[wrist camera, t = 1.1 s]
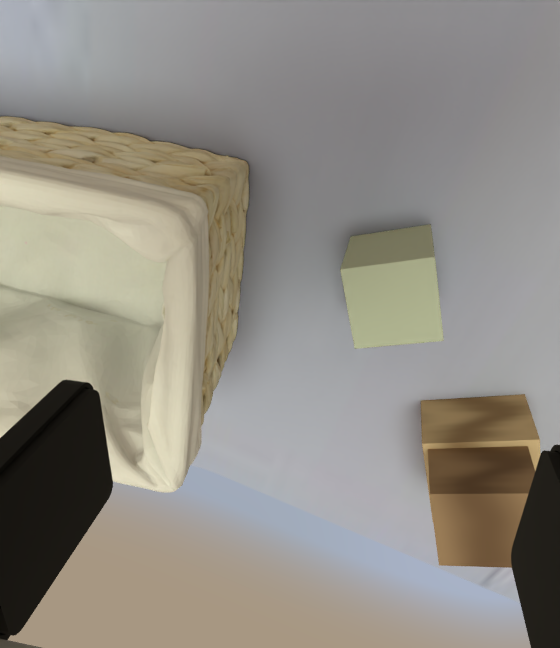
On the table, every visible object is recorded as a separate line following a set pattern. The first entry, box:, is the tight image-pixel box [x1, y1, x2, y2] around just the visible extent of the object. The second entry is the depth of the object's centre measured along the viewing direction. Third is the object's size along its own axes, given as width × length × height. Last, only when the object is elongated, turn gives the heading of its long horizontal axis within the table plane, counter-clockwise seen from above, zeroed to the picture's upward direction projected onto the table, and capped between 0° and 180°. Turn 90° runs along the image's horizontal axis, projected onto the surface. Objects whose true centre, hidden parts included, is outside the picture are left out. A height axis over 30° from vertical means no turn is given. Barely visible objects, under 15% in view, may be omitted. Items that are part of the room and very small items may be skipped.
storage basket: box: [0, 116, 249, 492], centre depth 32 cm, size 24×16×15 cm
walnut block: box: [428, 446, 535, 568], centre depth 33 cm, size 6×6×4 cm
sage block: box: [340, 224, 444, 349], centre depth 32 cm, size 5×5×6 cm
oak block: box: [421, 394, 540, 519], centre depth 37 cm, size 7×7×5 cm
